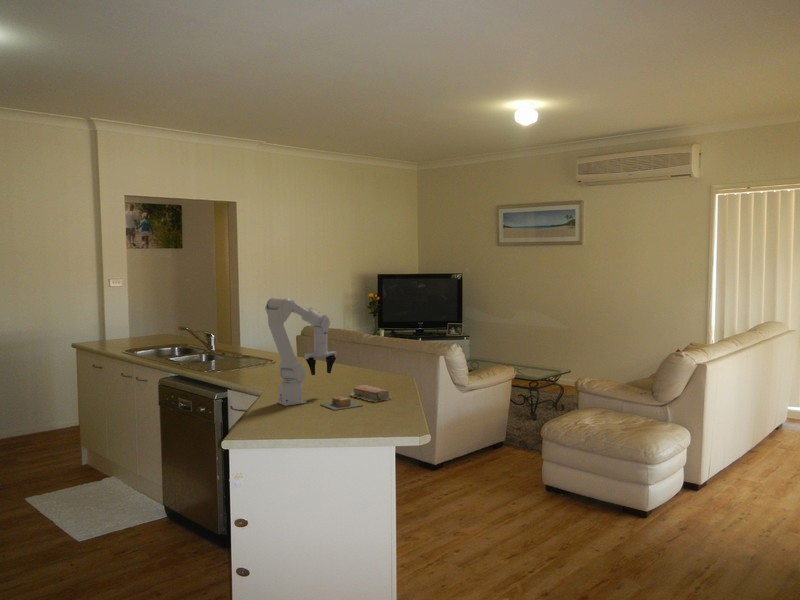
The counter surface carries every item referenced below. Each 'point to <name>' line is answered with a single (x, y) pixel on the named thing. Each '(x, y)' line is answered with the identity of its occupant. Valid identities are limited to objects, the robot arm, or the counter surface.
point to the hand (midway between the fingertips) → (321, 374)
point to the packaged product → (370, 393)
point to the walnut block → (341, 401)
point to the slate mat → (335, 407)
